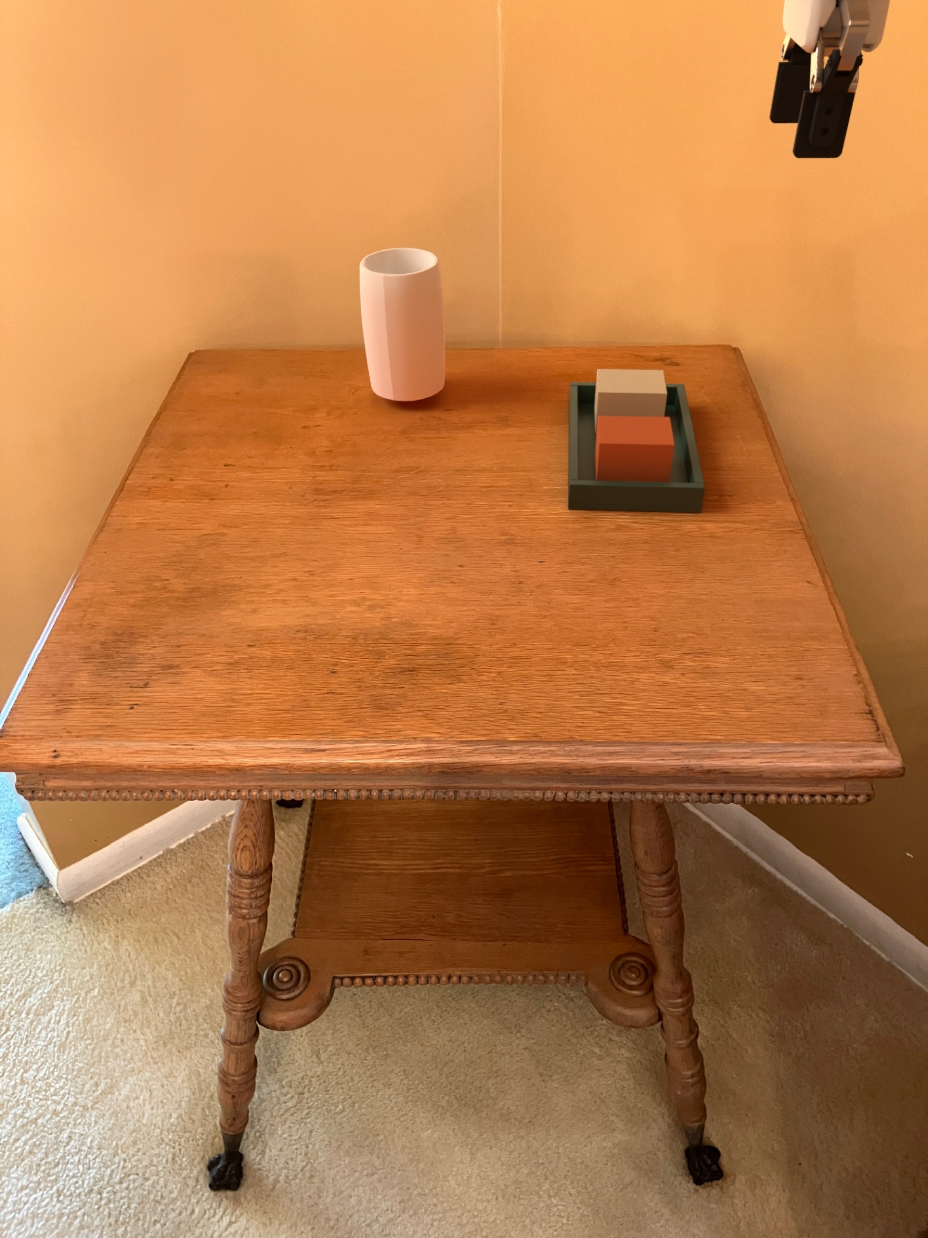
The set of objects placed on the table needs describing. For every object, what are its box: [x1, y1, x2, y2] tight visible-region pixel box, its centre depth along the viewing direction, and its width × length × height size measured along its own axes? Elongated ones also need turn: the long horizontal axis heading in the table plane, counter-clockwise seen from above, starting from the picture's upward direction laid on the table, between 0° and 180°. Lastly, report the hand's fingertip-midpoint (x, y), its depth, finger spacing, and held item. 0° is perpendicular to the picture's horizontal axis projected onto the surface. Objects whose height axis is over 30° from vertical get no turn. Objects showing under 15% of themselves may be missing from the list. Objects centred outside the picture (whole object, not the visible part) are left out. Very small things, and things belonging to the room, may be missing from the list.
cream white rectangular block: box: [594, 368, 667, 434], centre depth 90 cm, size 5×6×4 cm
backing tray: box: [567, 381, 706, 514], centre depth 87 cm, size 20×12×3 cm, turn 175°
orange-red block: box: [595, 416, 675, 482], centre depth 83 cm, size 5×6×4 cm
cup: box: [359, 247, 446, 402], centre depth 94 cm, size 8×8×14 cm
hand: (802, 138), depth 66 cm, fingers open, 9 cm apart
